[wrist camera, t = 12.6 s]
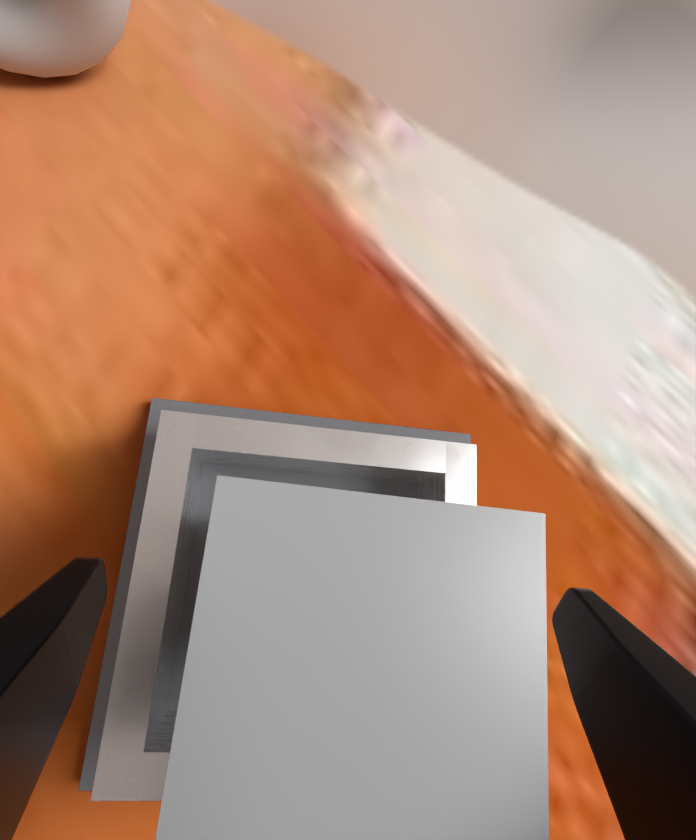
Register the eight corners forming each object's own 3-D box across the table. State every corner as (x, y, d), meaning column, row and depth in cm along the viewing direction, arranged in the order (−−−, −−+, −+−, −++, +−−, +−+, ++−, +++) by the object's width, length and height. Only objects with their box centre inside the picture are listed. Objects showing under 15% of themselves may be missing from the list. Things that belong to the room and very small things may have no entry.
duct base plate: (462, 782, 19) (468, 789, 18) (84, 782, 17) (78, 790, 16) (465, 436, 22) (470, 434, 22) (155, 401, 20) (151, 398, 20)
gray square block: (357, 658, 18) (549, 909, 6) (228, 650, 18) (143, 912, 5) (368, 528, 20) (545, 513, 7) (248, 516, 19) (217, 475, 7)
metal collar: (436, 750, 18) (475, 798, 15) (126, 747, 16) (90, 800, 13) (442, 459, 21) (476, 444, 18) (179, 431, 19) (161, 409, 16)
